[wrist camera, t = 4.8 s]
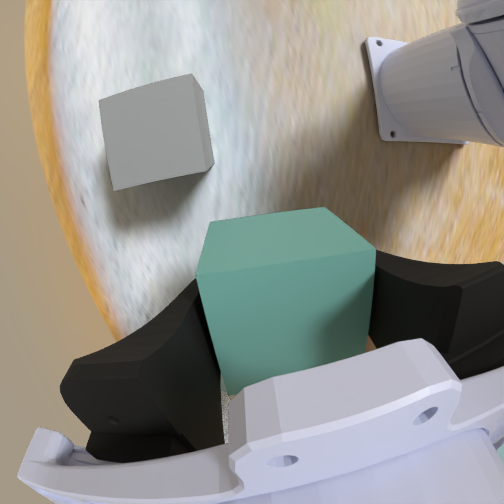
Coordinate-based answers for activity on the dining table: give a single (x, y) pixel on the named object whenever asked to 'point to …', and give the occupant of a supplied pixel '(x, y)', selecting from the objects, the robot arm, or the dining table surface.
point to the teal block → (284, 293)
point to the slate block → (156, 132)
